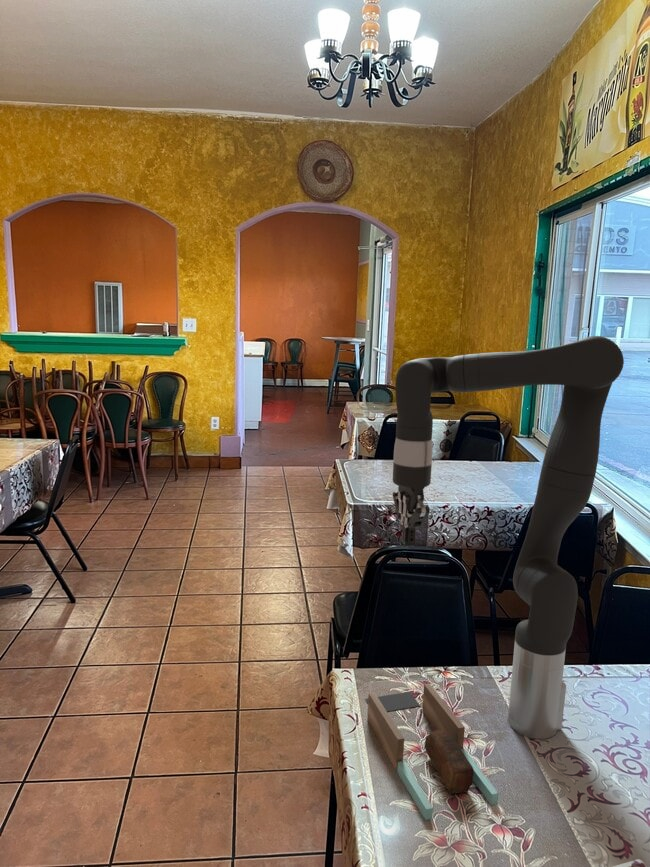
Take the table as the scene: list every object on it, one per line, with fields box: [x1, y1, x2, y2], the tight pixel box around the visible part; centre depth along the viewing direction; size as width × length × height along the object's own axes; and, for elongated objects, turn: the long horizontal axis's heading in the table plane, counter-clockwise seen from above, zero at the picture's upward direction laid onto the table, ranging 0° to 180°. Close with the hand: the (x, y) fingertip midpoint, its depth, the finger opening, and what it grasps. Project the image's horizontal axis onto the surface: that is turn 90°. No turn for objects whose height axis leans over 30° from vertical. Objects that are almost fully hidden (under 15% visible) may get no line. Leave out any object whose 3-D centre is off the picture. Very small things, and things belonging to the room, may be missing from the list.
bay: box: [396, 748, 499, 821], centre depth 107 cm, size 13×11×2 cm
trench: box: [366, 683, 466, 771], centre depth 119 cm, size 13×14×6 cm
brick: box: [424, 729, 474, 795], centre depth 110 cm, size 11×4×5 cm, turn 15°
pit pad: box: [364, 691, 421, 713], centre depth 130 cm, size 10×5×1 cm, turn 107°
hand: (408, 543), depth 130 cm, fingers closed
